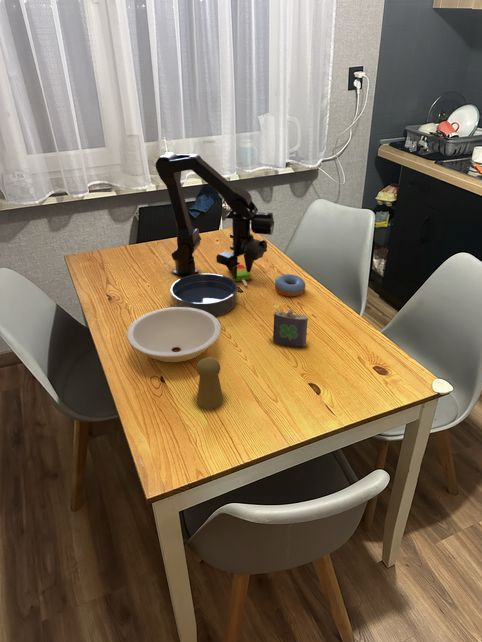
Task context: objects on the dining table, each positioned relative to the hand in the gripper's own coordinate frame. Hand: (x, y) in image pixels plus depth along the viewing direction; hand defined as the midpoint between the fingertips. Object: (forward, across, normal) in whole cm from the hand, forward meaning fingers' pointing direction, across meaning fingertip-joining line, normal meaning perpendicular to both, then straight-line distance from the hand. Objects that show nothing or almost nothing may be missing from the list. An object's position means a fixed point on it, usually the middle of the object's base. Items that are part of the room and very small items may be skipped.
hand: (241, 275), depth 168 cm
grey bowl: (+1, -44, -15) cm, 47 cm away
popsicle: (+1, 0, 0) cm, 1 cm away
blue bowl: (+1, -20, -2) cm, 20 cm away
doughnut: (+1, +3, -18) cm, 18 cm away
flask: (+1, -22, -36) cm, 42 cm away
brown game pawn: (+1, -53, -36) cm, 64 cm away
